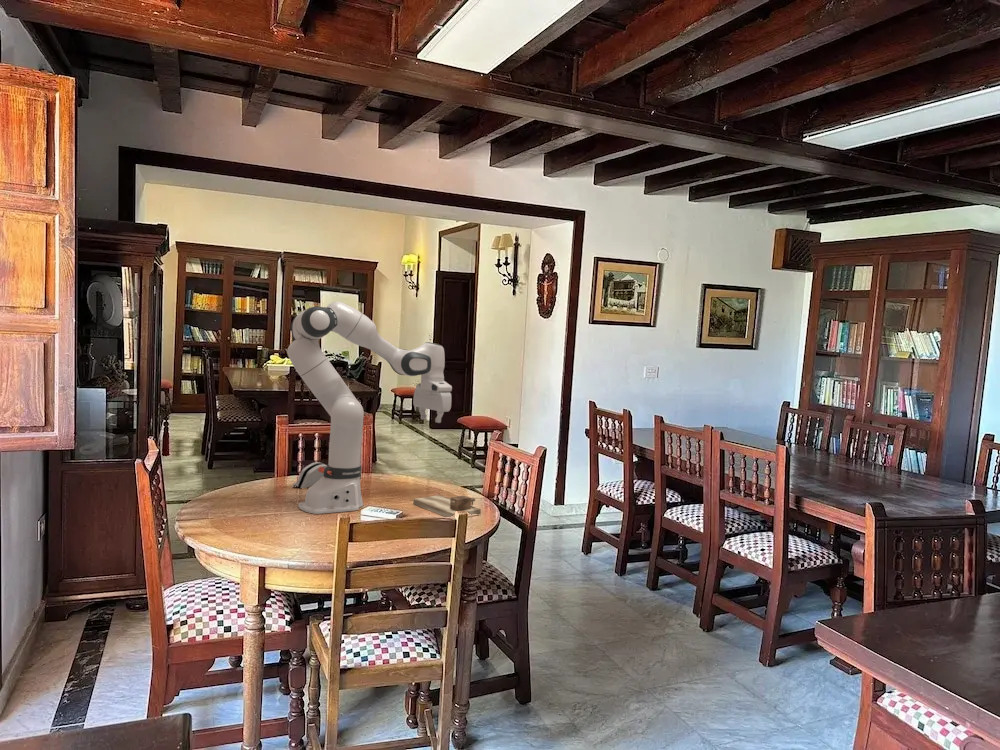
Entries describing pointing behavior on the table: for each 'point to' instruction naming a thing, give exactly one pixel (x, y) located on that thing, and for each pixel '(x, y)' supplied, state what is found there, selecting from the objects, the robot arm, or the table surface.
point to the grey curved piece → (310, 475)
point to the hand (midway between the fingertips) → (430, 420)
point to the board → (440, 505)
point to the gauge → (461, 503)
